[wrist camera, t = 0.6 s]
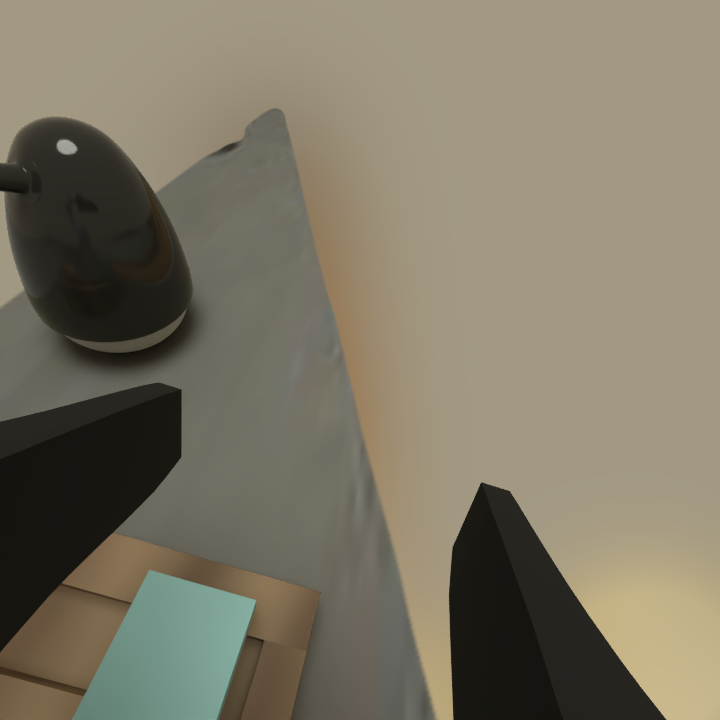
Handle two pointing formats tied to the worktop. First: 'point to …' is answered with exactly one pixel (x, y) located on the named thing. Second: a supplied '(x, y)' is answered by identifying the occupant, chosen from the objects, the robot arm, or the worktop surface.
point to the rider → (171, 654)
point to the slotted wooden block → (107, 611)
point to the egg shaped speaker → (92, 238)
